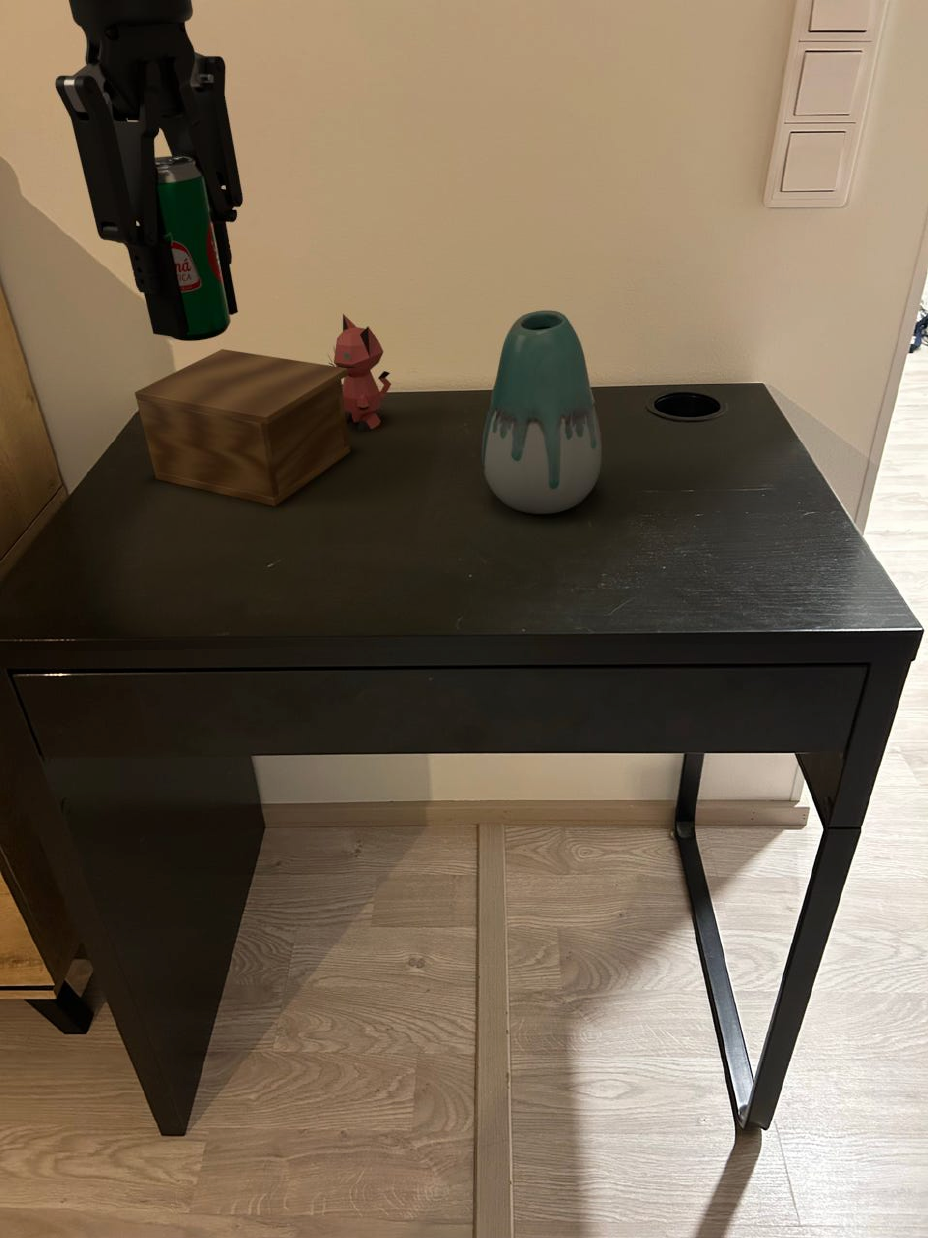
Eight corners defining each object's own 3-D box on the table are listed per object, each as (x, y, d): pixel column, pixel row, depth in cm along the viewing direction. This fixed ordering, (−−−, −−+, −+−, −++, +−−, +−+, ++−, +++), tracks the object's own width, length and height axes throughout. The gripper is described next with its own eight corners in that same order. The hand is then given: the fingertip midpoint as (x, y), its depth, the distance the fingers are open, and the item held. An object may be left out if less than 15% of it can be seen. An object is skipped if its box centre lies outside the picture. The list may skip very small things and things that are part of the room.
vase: (512, 537, 88) (509, 347, 78) (465, 486, 97) (457, 310, 87) (622, 511, 92) (633, 325, 82) (567, 464, 101) (571, 291, 91)
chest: (350, 452, 106) (341, 374, 101) (275, 506, 96) (260, 423, 91) (237, 430, 112) (223, 356, 107) (156, 479, 102) (136, 400, 97)
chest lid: (348, 375, 100) (347, 367, 100) (268, 424, 90) (266, 416, 90) (223, 355, 107) (222, 348, 106) (136, 399, 97) (134, 392, 96)
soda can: (151, 339, 72) (110, 166, 65) (191, 319, 76) (157, 153, 69) (206, 345, 70) (171, 168, 64) (245, 324, 74) (215, 155, 67)
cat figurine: (326, 419, 113) (313, 318, 107) (377, 405, 116) (367, 305, 110) (354, 438, 109) (342, 334, 102) (406, 423, 111) (397, 320, 105)
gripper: (175, -50, 67) (234, 285, 81) (-43, -43, 55) (70, 354, 68) (259, -56, 64) (306, 294, 78) (49, -50, 52) (149, 368, 65)
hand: (196, 322), depth 73 cm, fingers closed on soda can, 5 cm apart
